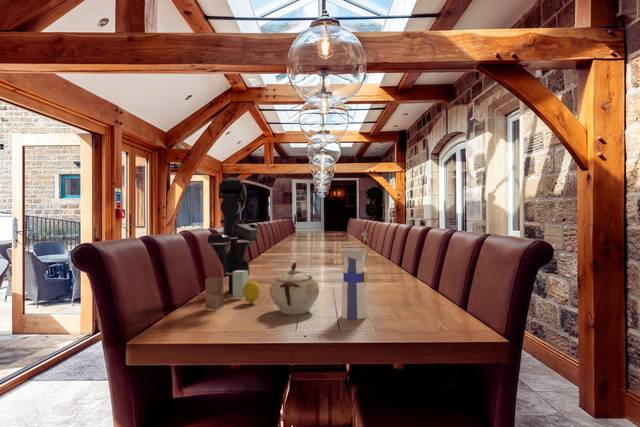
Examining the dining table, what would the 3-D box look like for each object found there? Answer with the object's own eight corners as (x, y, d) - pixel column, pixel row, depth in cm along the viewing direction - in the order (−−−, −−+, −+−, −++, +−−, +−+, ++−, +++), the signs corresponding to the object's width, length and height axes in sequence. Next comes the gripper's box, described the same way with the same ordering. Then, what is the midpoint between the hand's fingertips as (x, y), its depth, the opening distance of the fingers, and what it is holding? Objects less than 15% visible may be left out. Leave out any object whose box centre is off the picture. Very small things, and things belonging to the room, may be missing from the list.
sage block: (238, 296, 158) (237, 270, 158) (248, 297, 157) (248, 270, 156) (232, 298, 154) (232, 271, 154) (243, 299, 153) (242, 272, 153)
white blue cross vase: (371, 313, 130) (370, 228, 129) (366, 320, 121) (365, 230, 121) (344, 311, 132) (343, 228, 132) (337, 318, 124) (336, 230, 123)
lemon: (261, 302, 148) (261, 278, 148) (257, 305, 142) (257, 281, 142) (245, 301, 148) (245, 278, 148) (241, 305, 143) (240, 280, 143)
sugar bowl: (313, 320, 122) (312, 266, 122) (261, 319, 125) (260, 266, 125) (323, 305, 142) (323, 258, 142) (279, 304, 144) (278, 258, 144)
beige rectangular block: (212, 307, 141) (212, 277, 141) (223, 307, 140) (223, 278, 140) (205, 309, 137) (205, 279, 137) (217, 310, 136) (216, 280, 136)
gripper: (235, 216, 133) (235, 267, 133) (267, 216, 150) (268, 262, 150) (206, 216, 138) (206, 266, 138) (240, 217, 155) (241, 261, 155)
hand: (232, 264), depth 145 cm, fingers open, 9 cm apart
